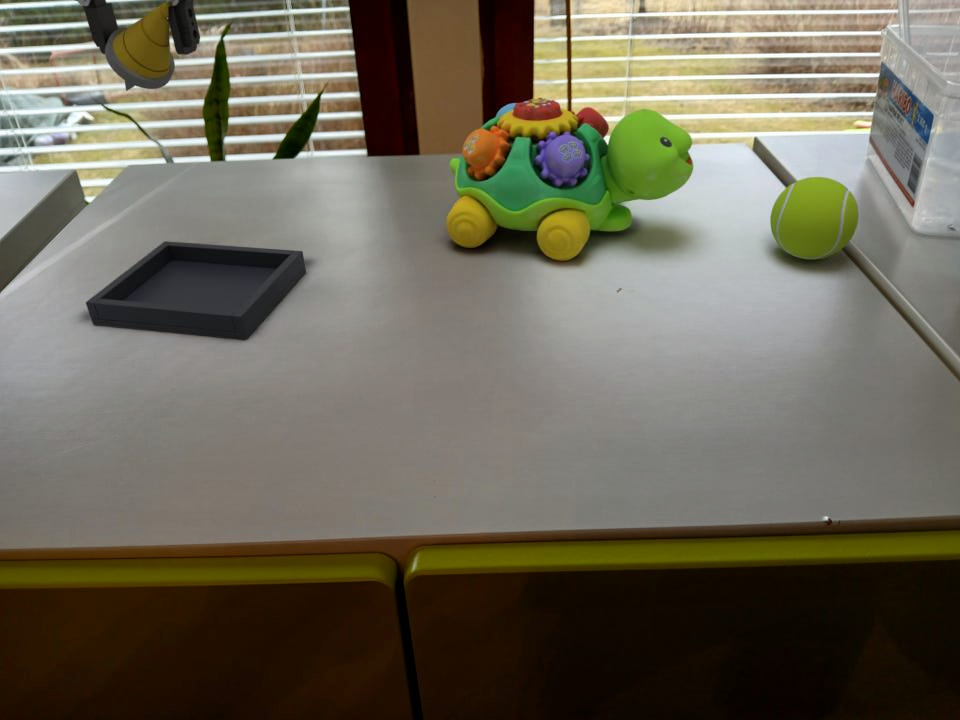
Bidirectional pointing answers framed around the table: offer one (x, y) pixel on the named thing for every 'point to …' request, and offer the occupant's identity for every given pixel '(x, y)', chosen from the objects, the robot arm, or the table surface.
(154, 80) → the yellow spinning top
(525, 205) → the turtle toy
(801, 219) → the tennis ball
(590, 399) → the table surface
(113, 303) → the black tray
